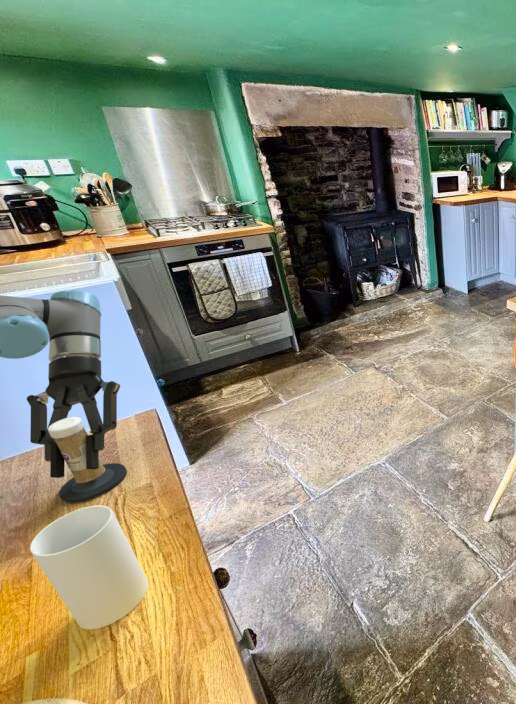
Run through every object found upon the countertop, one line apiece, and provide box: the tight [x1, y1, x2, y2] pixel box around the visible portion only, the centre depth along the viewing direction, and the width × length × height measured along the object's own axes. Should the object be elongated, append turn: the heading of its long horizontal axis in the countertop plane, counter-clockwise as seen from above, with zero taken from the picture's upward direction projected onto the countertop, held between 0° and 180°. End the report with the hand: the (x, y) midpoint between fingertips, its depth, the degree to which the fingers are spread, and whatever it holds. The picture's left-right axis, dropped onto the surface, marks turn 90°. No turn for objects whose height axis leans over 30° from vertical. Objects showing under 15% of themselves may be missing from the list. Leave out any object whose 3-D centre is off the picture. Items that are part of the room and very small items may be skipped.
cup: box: [29, 504, 150, 631], centre depth 60 cm, size 8×8×16 cm
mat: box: [58, 462, 128, 504], centre depth 84 cm, size 10×10×1 cm
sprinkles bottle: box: [47, 416, 105, 483], centre depth 80 cm, size 5×5×13 cm
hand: (75, 472), depth 78 cm, fingers closed on sprinkles bottle, 4 cm apart
